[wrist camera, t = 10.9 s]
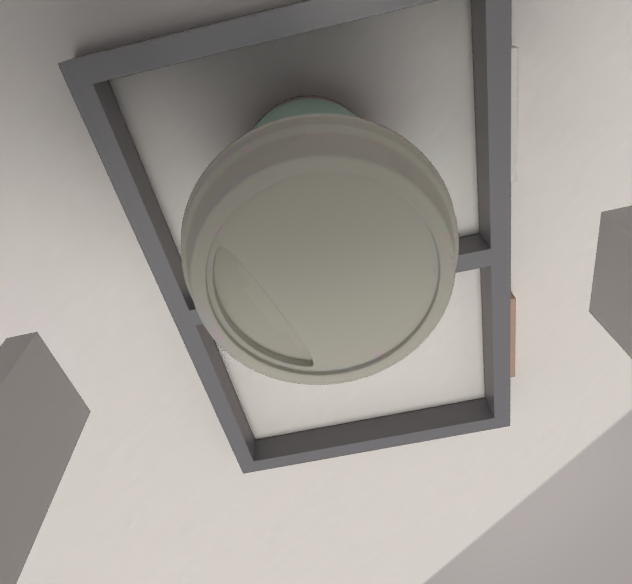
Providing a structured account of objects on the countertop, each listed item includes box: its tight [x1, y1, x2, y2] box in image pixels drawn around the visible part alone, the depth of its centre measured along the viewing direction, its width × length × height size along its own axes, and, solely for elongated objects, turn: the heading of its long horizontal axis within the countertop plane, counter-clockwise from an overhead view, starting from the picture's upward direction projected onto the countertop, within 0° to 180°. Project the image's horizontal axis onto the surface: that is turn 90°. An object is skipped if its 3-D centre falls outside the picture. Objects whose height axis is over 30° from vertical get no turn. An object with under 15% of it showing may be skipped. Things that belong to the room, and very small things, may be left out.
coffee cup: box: [181, 96, 459, 385], centre depth 19 cm, size 8×8×12 cm
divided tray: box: [58, 0, 518, 473], centre depth 27 cm, size 26×19×2 cm
